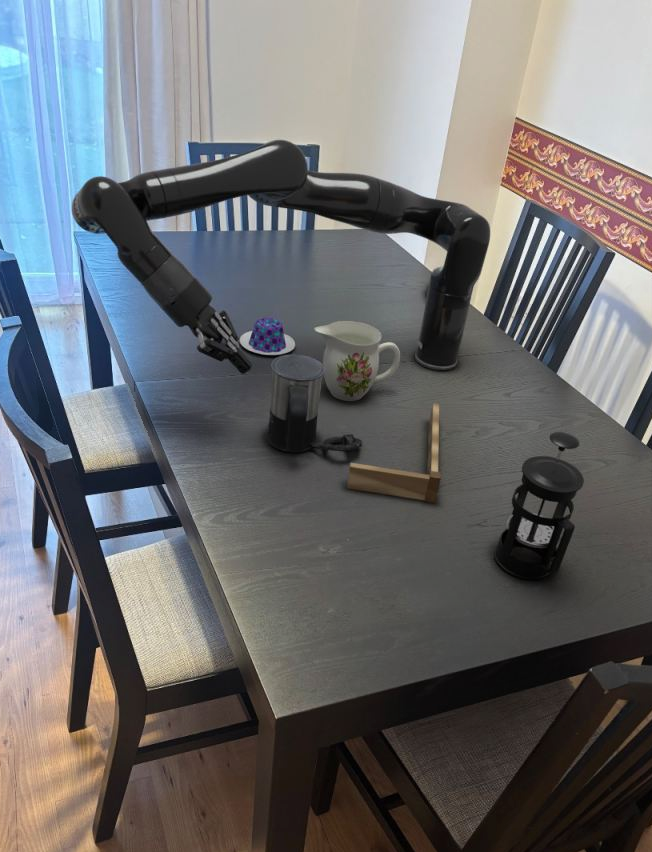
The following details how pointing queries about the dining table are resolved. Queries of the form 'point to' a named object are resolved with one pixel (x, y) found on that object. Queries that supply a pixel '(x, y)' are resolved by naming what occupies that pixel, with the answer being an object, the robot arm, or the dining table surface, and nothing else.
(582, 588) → the dining table surface
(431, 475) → the corner rail
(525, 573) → the french press
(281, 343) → the pudding
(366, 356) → the pitcher
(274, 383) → the milk frother
